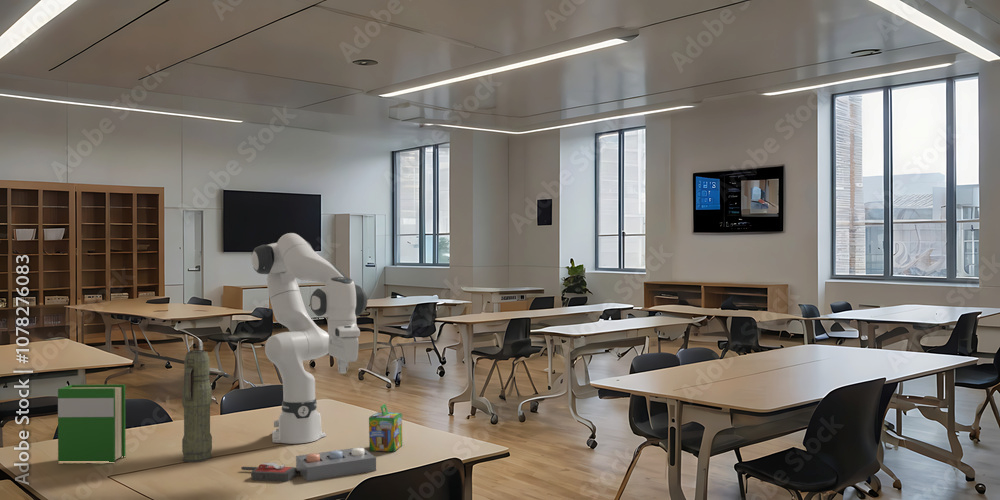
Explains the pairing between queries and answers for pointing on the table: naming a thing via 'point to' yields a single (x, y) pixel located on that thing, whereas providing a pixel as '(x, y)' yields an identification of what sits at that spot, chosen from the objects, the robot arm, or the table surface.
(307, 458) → the orange egg
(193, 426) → the thermos
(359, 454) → the white ellipsoid
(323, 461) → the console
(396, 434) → the chalk box
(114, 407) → the hardback book
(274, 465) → the walkie-talkie
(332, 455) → the pale blue egg shape
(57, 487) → the table surface
